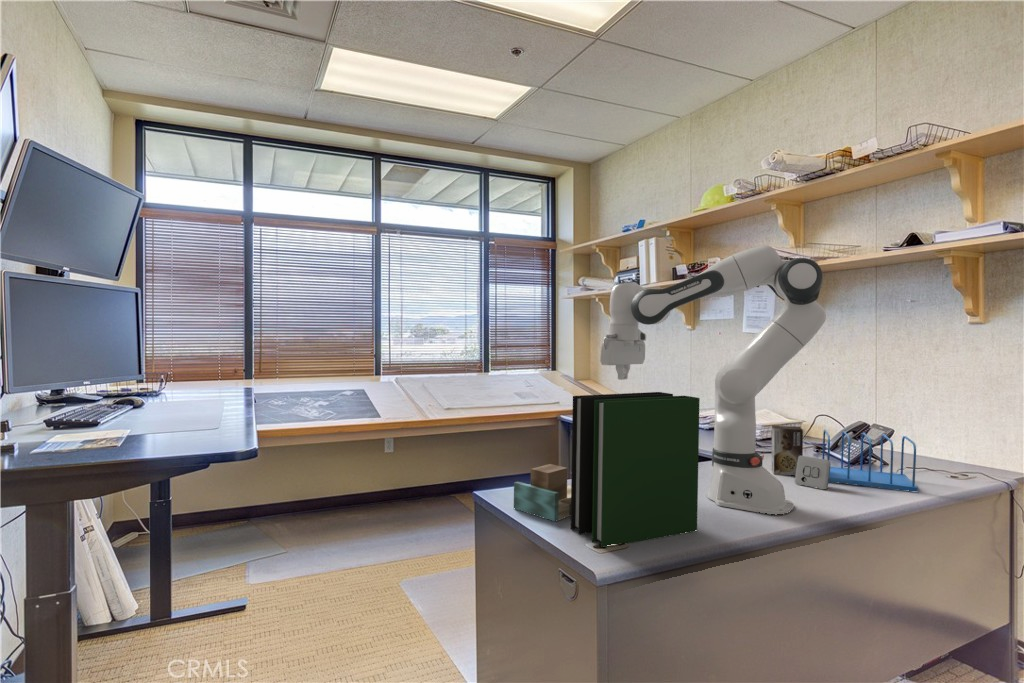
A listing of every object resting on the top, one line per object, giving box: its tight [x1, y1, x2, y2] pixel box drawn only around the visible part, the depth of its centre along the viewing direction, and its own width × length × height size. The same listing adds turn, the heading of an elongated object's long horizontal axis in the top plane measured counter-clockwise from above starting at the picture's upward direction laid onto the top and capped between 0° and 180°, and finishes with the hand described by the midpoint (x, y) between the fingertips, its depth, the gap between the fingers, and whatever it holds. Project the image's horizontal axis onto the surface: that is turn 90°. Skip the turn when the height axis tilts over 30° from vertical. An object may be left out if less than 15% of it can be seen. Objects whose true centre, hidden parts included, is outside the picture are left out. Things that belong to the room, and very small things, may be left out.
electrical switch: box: [794, 455, 832, 490], centre depth 172 cm, size 9×5×9 cm, turn 41°
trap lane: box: [513, 481, 571, 522], centre depth 147 cm, size 14×20×7 cm
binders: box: [570, 391, 701, 548], centre depth 130 cm, size 27×15×32 cm, turn 116°
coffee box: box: [770, 424, 804, 477], centre depth 187 cm, size 9×6×16 cm
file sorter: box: [821, 429, 919, 492], centre depth 179 cm, size 25×17×15 cm
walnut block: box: [530, 463, 568, 500], centre depth 144 cm, size 6×8×8 cm
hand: (622, 379), depth 168 cm, fingers closed
